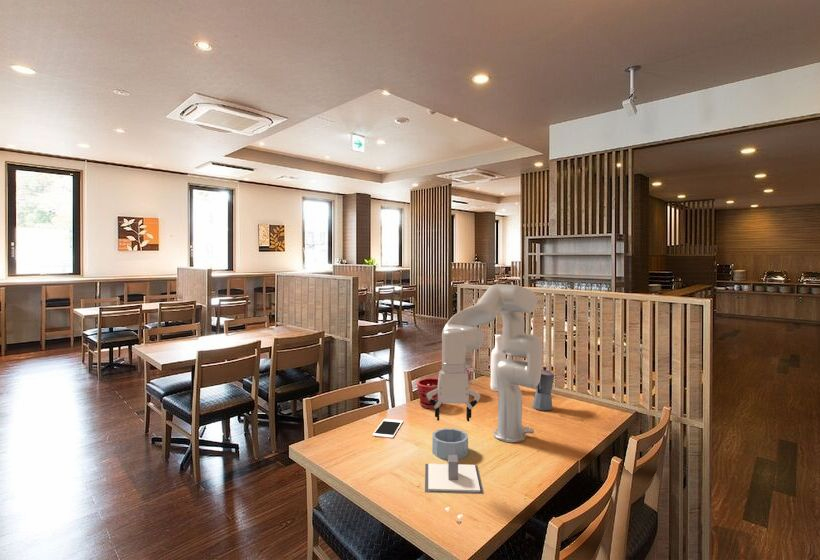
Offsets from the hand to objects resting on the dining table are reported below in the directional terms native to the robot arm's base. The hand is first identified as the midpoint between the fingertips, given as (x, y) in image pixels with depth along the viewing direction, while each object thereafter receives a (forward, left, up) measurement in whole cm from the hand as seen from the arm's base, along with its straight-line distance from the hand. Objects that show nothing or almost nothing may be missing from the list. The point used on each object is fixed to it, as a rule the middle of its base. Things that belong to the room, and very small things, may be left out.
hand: (452, 419), depth 140 cm
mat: (0, 0, -20) cm, 20 cm away
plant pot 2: (-7, -88, -21) cm, 91 cm away
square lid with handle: (0, 0, -19) cm, 19 cm away
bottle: (-30, -98, -21) cm, 105 cm away
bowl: (0, -19, -20) cm, 28 cm away
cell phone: (+25, -41, -21) cm, 52 cm away
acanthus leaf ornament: (-1, +18, -21) cm, 28 cm away
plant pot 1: (+7, -70, -21) cm, 73 cm away
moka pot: (-47, -69, -21) cm, 86 cm away
